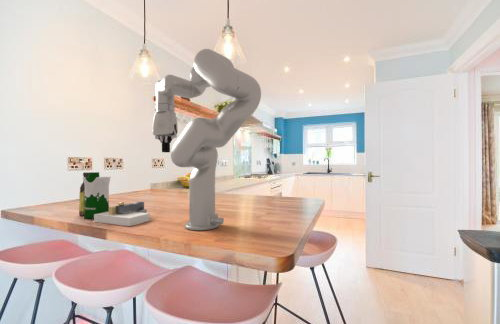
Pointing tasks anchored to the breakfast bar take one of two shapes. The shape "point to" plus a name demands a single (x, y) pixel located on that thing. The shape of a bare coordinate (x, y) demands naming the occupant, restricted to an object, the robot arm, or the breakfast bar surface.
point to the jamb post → (140, 211)
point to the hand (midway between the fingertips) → (165, 152)
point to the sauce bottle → (82, 196)
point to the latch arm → (129, 207)
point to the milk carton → (96, 194)
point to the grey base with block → (121, 217)
